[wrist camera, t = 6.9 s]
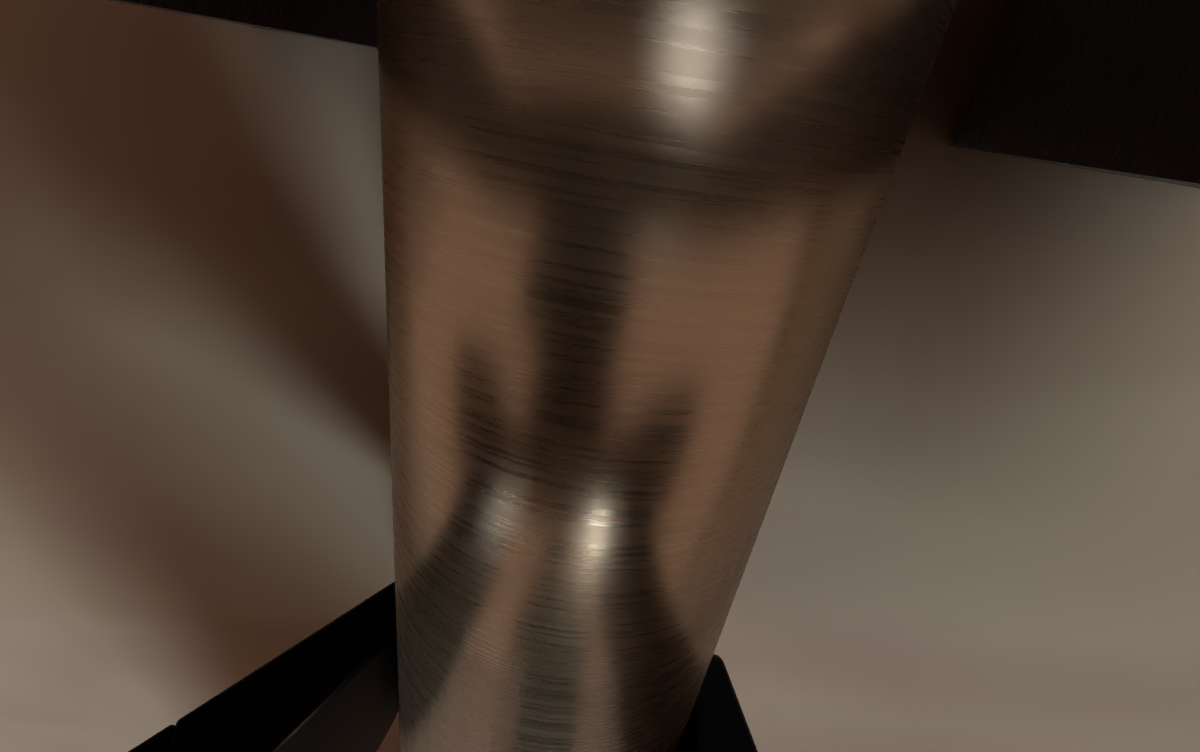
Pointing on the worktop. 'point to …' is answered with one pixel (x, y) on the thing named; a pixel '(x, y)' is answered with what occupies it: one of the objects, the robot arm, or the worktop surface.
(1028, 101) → the firebox collars
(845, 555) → the worktop surface
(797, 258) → the tube
